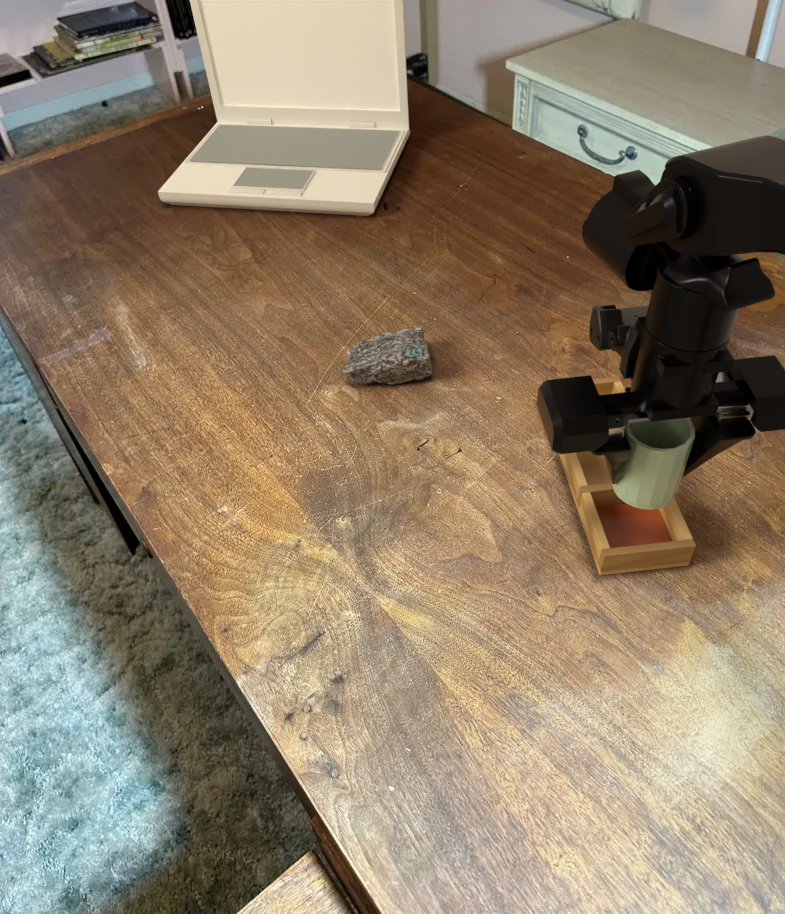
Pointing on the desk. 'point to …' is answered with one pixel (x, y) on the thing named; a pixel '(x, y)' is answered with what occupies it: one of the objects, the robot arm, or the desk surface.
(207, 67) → the laptop
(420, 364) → the rock
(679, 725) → the desk surface
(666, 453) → the cup
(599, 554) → the rack
